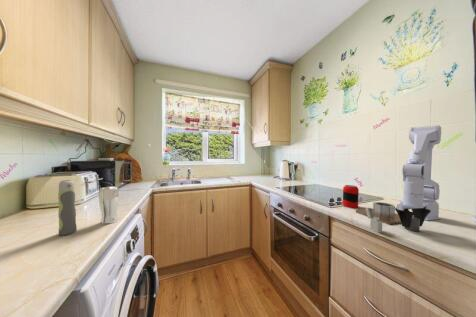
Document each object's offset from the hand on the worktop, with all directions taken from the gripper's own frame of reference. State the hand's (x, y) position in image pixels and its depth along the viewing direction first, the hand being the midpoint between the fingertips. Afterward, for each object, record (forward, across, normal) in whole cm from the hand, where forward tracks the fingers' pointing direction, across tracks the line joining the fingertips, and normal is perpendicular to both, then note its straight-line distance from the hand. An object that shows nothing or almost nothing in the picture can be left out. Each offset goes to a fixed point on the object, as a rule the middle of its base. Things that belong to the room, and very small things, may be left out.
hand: (411, 226), depth 71 cm
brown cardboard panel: (+1, -4, -14) cm, 15 cm away
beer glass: (+2, +123, -36) cm, 128 cm away
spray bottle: (+2, +133, -27) cm, 136 cm away
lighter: (+2, +15, -4) cm, 16 cm away
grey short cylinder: (+2, 0, 0) cm, 2 cm away
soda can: (+2, -2, -31) cm, 31 cm away
